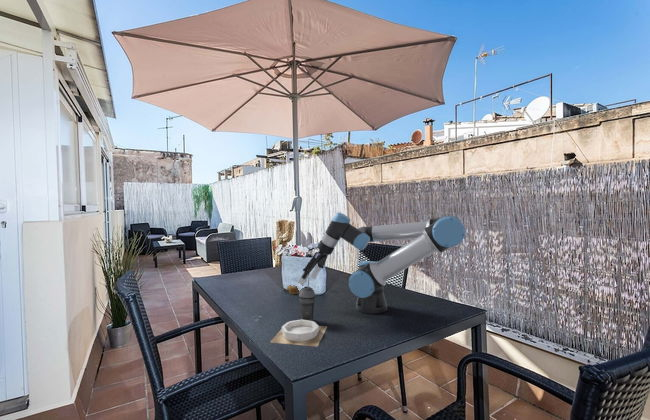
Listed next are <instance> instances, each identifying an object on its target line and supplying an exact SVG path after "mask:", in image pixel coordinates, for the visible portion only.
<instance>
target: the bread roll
mask: <svg viewBox="0 0 650 420" xmlns="http://www.w3.org/2000/svg"><path fill="white" fill-rule="evenodd" d="M287 286H288V285H287ZM287 286H286V288H285V292H286V293H287V292H288V293H287V294H289V295H299V293H300V292H299V290H298V288H297V286H295V285H293V286H291V285H290V286H288V287H287Z"/></svg>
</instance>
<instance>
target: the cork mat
mask: <svg viewBox="0 0 650 420" xmlns="http://www.w3.org/2000/svg"><path fill="white" fill-rule="evenodd" d="M318 326H319V332H318V335H317V336H316V337H315V338H314V339H312V340H309V341H304V342H293V341H289V340H286V339H285V338H284V337H283V333H282V328H281V329H280V330H279V331H278V332H277V334H276V335H275V336H274V337H273V338H272V339H271V340H270V342H269V343H273V344H281V345H282V344H283V345H284V344H285V345H294V346H306V347H316V348H317V347H319V344H320V342H321V340H322V338H323V336H324V334H325V333H326V331H327V328H328V326H323V325H318Z"/></svg>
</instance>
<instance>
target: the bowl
mask: <svg viewBox="0 0 650 420" xmlns="http://www.w3.org/2000/svg"><path fill="white" fill-rule="evenodd" d="M319 326H320V325H319V324H317V322H316V321H314V320H313V321H309V320H302V319H297V320H290V321H287V322H286V323H284V324H283V325H282V326H281V329H282V333H283V337H284V338H285V339H286V340H289V341H293V342H304V341H309V340H312V339H314V338H315V337H316V336H317V335H318V332H319Z"/></svg>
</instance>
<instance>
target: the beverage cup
mask: <svg viewBox="0 0 650 420" xmlns="http://www.w3.org/2000/svg"><path fill="white" fill-rule="evenodd" d="M310 277H311V276H308V278H307V286H304V288H302V289H301V290H300V293H299V294H298V299H299V304H300V315H301V320H309V321H314V310H315V300H316V293H315V290H314V288H312V287H311V286H310Z"/></svg>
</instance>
